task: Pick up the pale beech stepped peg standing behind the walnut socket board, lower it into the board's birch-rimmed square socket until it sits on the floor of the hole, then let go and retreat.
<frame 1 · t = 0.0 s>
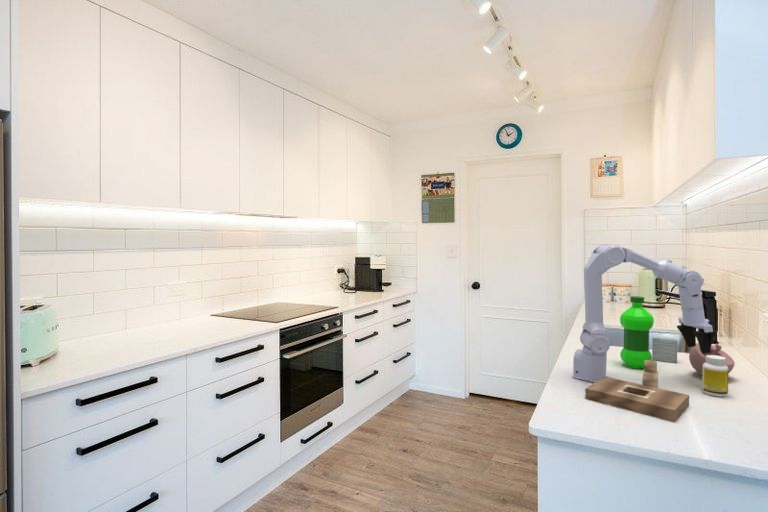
hand: (698, 349, 139), 11 cm above the counter, tool pointing down, fingers open, 7 cm apart
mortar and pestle: (710, 377, 145), on the counter
beech peg: (649, 390, 132), on the counter
plastic bottle: (635, 366, 156), on the counter
socket board: (635, 402, 123), on the counter
pill bottle: (714, 394, 129), on the counter
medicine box: (664, 361, 164), on the counter
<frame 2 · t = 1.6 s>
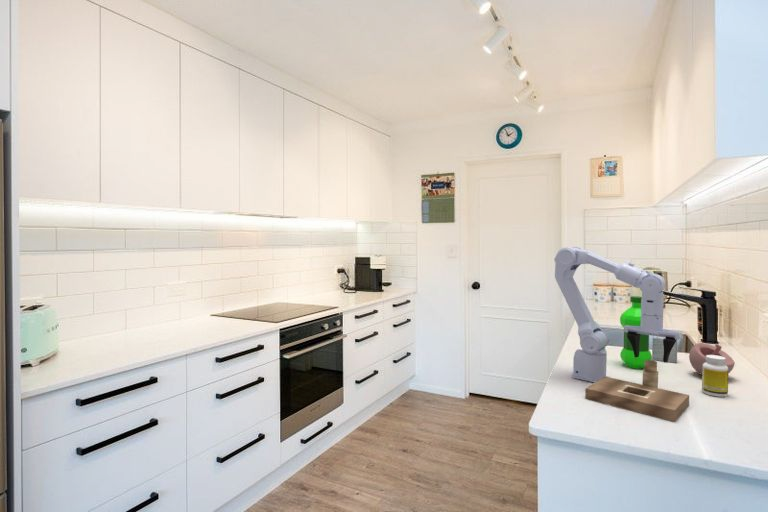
hand: (650, 359, 132), 10 cm above the counter, tool pointing down, fingers open, 7 cm apart
nothing on the counter moved.
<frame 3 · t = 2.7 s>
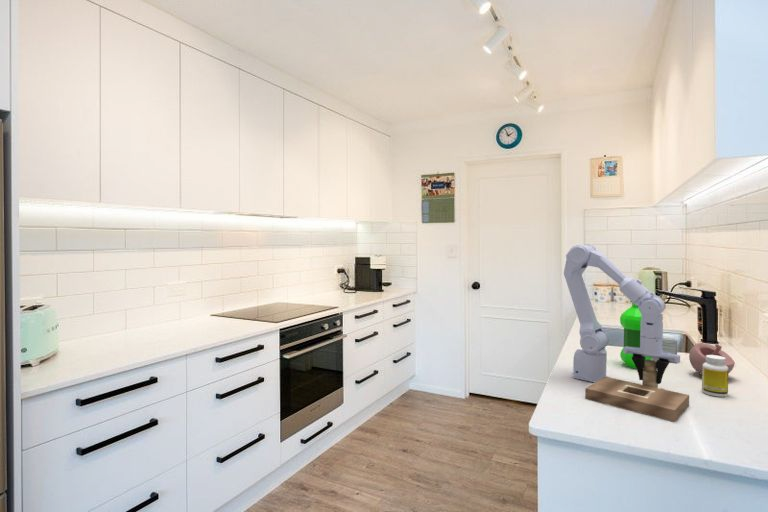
hand: (650, 381, 132), 3 cm above the counter, tool pointing down, fingers closed on beech peg, 4 cm apart
beech peg: (649, 390, 132), on the counter, touching gripper
everything else where it was.
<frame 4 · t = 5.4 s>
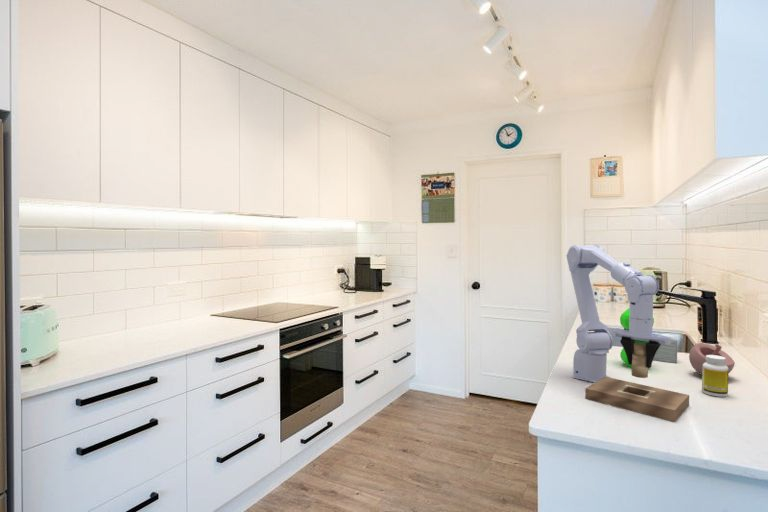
hand: (639, 365, 124), 10 cm above the counter, tool pointing down, fingers closed on beech peg, 4 cm apart
beech peg: (639, 375, 124), point 7 cm above the counter, touching gripper
everything else where it was.
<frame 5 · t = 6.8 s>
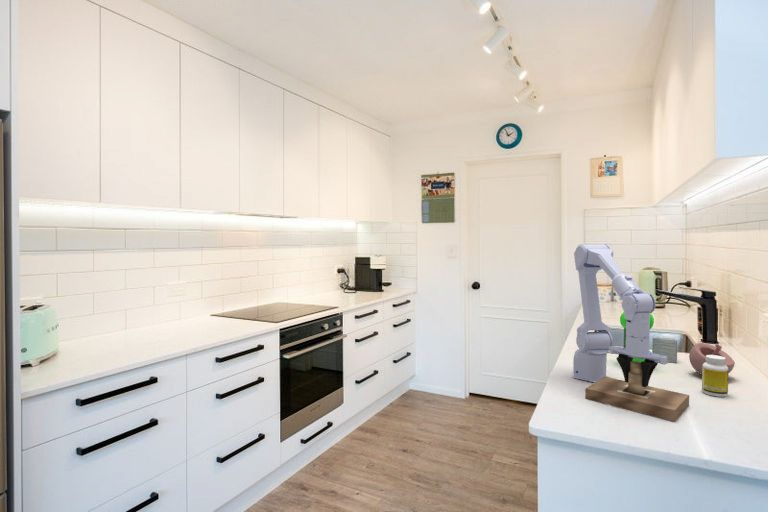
hand: (636, 383, 123), 5 cm above the counter, tool pointing down, fingers closed on beech peg, 4 cm apart
beech peg: (636, 394, 123), point 2 cm above the counter, touching gripper
everything else where it was.
when the fingers open (4 cm above the counter, at t = 8.0 s): beech peg stays where it is, resting in socket board.
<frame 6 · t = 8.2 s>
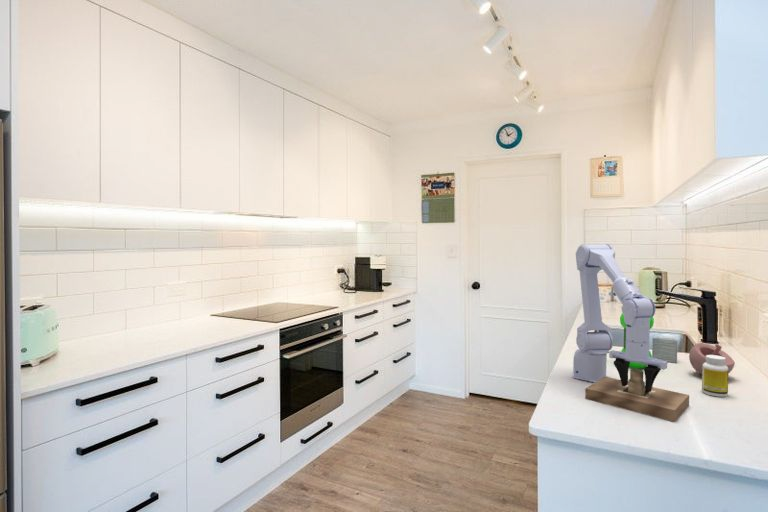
hand: (636, 388, 123), 4 cm above the counter, tool pointing down, fingers open, 6 cm apart
beech peg: (636, 402, 123), resting in socket board
everything else where it was.
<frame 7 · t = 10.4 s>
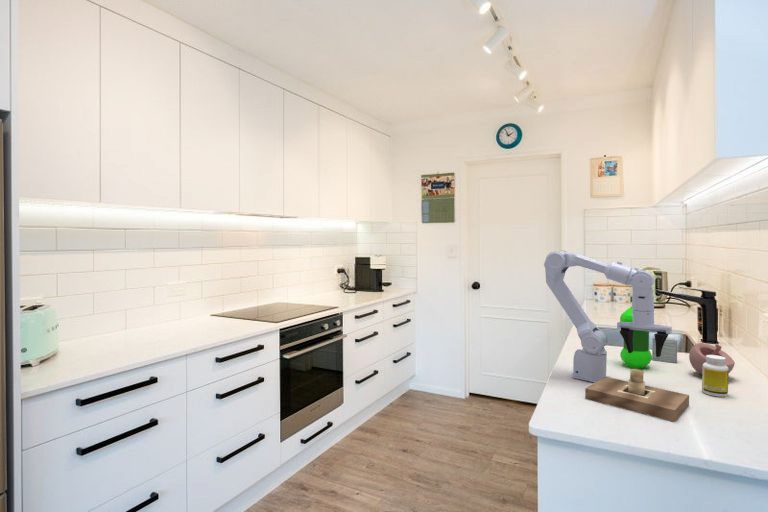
hand: (644, 354, 134), 10 cm above the counter, tool pointing down, fingers open, 7 cm apart
nothing on the counter moved.
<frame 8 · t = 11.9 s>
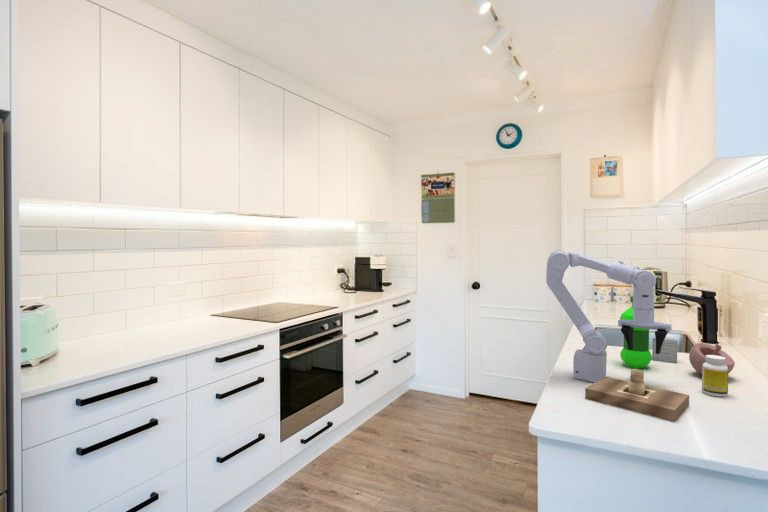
hand: (644, 351, 138), 10 cm above the counter, tool pointing down, fingers open, 7 cm apart
nothing on the counter moved.
at the end: beech peg 0.0 cm off-centre on the socket board, point 0.0 cm above the socket board's base; beech peg tilted 1°; the gripper is holding nothing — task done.
